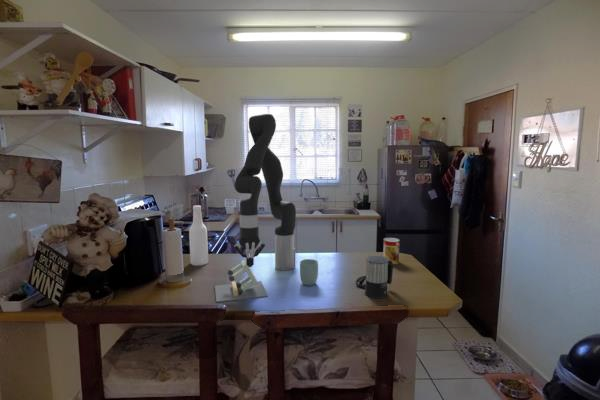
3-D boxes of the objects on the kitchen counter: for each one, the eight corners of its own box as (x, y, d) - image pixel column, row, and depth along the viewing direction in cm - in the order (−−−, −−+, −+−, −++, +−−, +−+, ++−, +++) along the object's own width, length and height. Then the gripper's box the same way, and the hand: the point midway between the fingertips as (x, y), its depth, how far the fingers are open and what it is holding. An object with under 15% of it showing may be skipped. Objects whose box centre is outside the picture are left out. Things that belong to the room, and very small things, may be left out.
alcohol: (195, 260, 184) (192, 204, 180) (210, 261, 183) (208, 204, 178) (187, 265, 175) (184, 207, 171) (204, 266, 174) (201, 207, 170)
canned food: (400, 264, 178) (401, 241, 176) (384, 264, 178) (385, 241, 176) (396, 259, 185) (397, 237, 184) (381, 259, 186) (382, 237, 184)
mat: (261, 282, 154) (261, 276, 153) (267, 296, 139) (267, 290, 138) (214, 286, 148) (214, 280, 148) (216, 302, 133) (216, 295, 133)
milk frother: (382, 300, 135) (384, 264, 133) (346, 291, 143) (346, 257, 141) (394, 288, 147) (396, 254, 145) (359, 281, 155) (360, 248, 153)
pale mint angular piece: (255, 276, 149) (244, 259, 147) (258, 283, 140) (246, 266, 138) (237, 287, 148) (226, 270, 145) (239, 295, 139) (227, 278, 137)
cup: (319, 281, 154) (320, 260, 153) (314, 288, 147) (315, 265, 145) (303, 279, 157) (303, 258, 155) (297, 286, 149) (297, 263, 148)
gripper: (263, 222, 146) (264, 262, 148) (231, 224, 142) (232, 264, 145) (267, 226, 139) (267, 267, 141) (233, 228, 135) (234, 270, 138)
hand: (250, 266), depth 143 cm, fingers closed
